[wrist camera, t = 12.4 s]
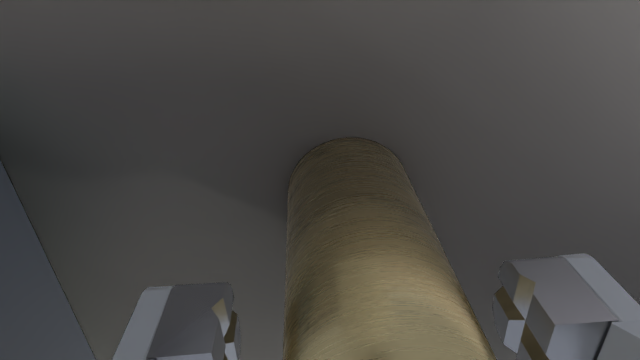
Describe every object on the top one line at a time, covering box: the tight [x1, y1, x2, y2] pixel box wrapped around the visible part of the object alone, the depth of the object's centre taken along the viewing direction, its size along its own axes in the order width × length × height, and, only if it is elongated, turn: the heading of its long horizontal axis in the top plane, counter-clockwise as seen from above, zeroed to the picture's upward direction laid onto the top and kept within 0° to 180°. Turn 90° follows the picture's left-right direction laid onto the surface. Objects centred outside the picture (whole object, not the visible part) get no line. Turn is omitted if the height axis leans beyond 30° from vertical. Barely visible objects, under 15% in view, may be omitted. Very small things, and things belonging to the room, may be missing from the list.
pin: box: [283, 138, 497, 360], centre depth 8 cm, size 3×3×8 cm
